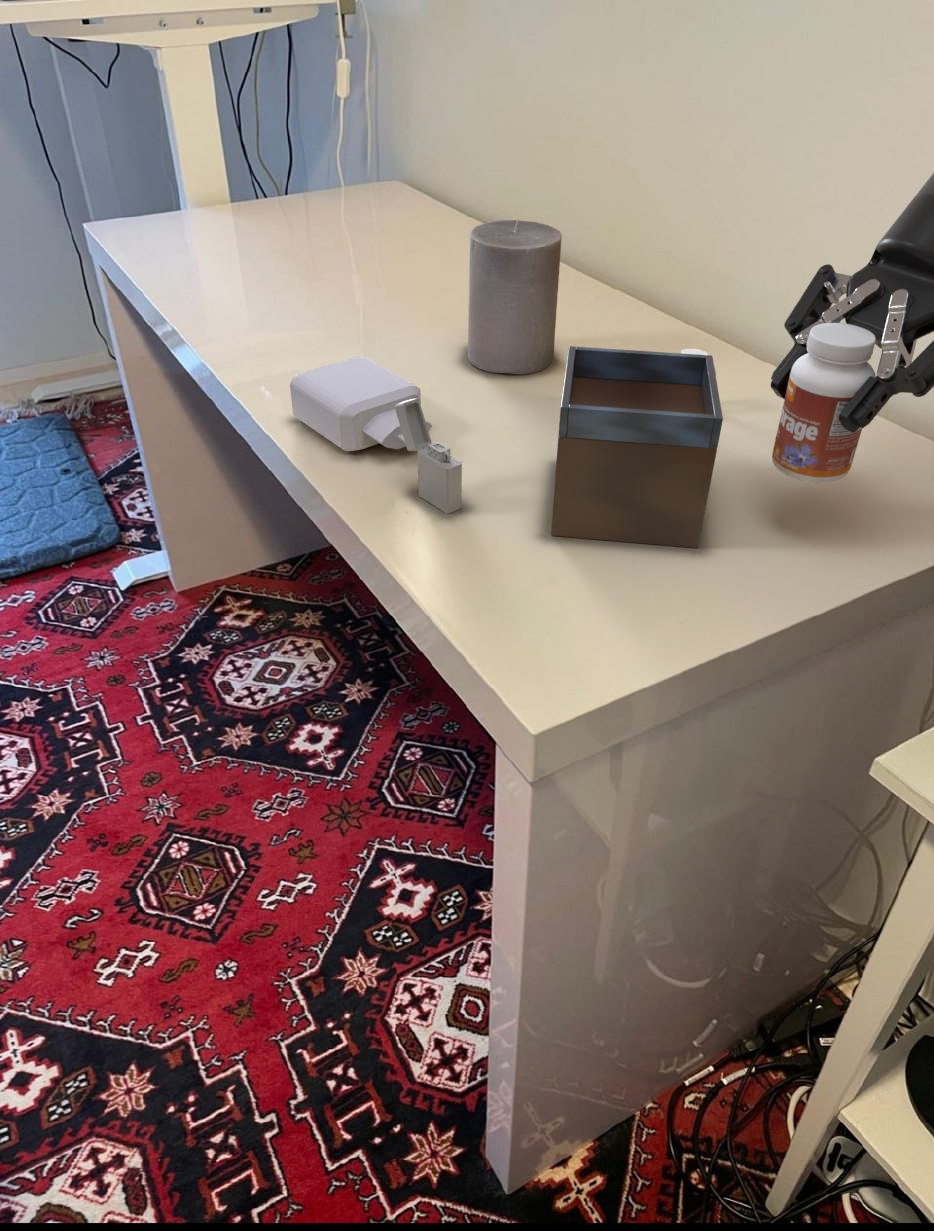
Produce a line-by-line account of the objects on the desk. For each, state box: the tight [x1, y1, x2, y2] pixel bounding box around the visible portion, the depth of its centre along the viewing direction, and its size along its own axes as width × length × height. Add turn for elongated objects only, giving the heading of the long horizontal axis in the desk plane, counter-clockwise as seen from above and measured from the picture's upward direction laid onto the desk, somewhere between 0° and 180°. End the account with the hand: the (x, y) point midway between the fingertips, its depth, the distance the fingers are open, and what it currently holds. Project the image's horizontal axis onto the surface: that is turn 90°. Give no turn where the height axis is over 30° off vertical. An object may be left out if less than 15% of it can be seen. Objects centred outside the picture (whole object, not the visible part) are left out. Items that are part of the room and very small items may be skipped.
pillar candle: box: [467, 219, 563, 375], centre depth 103 cm, size 10×10×15 cm
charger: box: [289, 356, 433, 452], centre depth 91 cm, size 5×9×15 cm
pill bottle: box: [771, 322, 877, 484], centre depth 74 cm, size 6×6×11 cm
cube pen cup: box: [550, 345, 724, 549], centre depth 79 cm, size 12×12×12 cm
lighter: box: [395, 398, 463, 515], centre depth 81 cm, size 7×2×8 cm, turn 40°
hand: (811, 408), depth 73 cm, fingers closed on pill bottle, 6 cm apart
